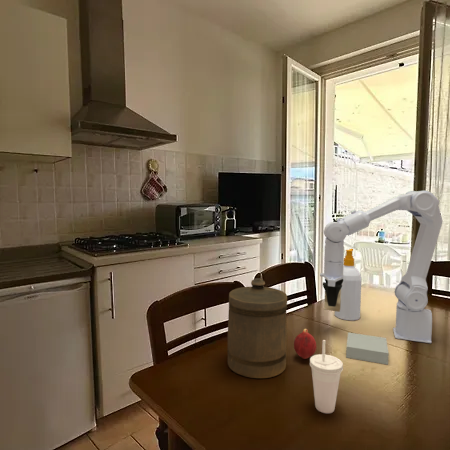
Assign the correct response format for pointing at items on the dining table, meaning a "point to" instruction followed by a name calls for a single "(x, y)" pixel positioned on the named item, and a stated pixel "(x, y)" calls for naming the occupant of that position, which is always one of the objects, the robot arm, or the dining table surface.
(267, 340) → the wooden container
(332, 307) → the block
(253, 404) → the dining table surface
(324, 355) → the smoothie
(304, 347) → the onion
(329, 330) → the dining table surface
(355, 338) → the base
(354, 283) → the soap bottle
